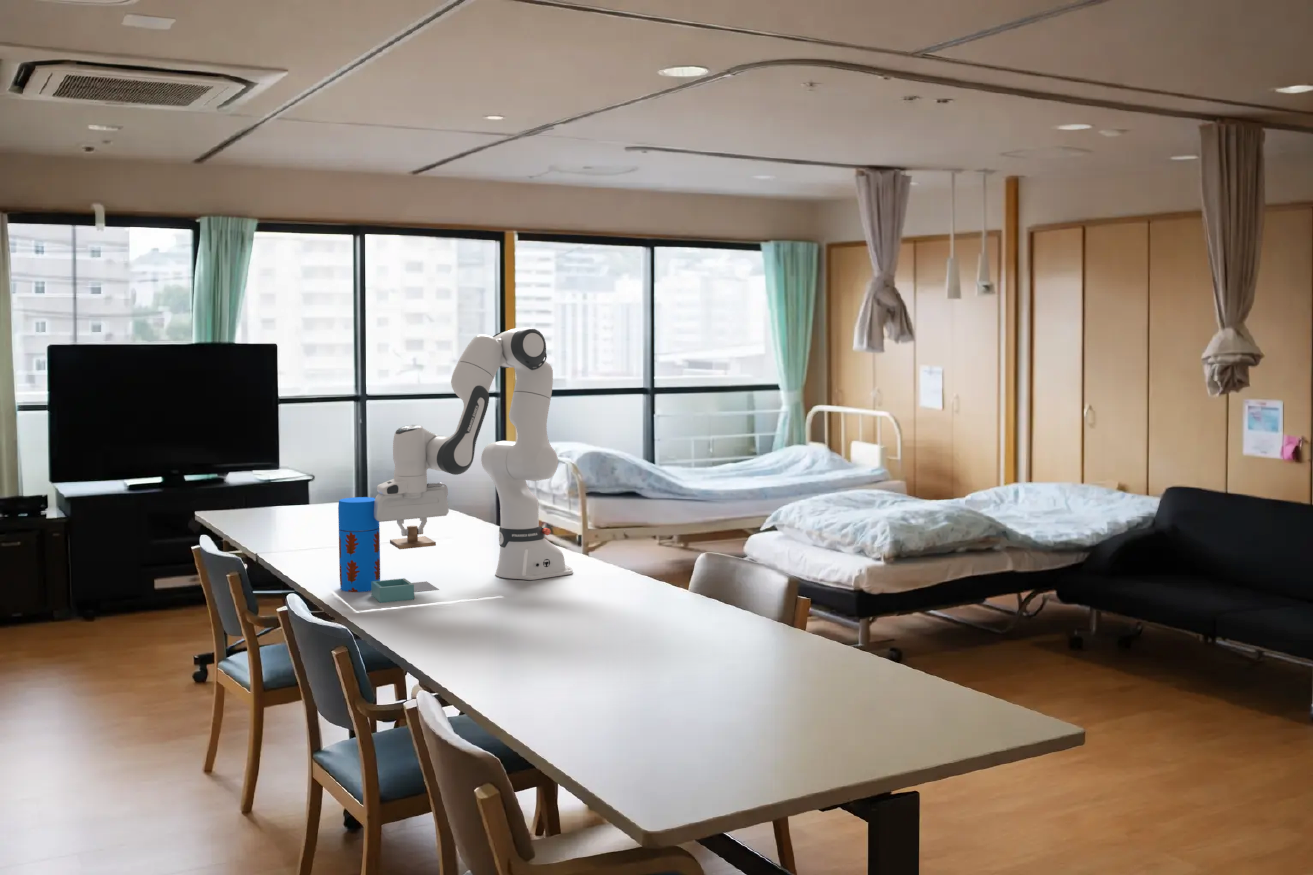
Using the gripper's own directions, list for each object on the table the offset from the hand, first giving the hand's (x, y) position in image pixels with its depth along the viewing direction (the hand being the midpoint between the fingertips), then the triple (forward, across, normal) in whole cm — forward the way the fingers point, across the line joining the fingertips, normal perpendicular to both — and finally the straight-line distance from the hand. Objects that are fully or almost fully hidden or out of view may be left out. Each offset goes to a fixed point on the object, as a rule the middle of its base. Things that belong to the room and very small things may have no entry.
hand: (412, 534), depth 328 cm
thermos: (+15, +13, -6) cm, 21 cm away
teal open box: (+15, +9, +10) cm, 20 cm away
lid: (+3, 0, 0) cm, 3 cm away
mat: (+15, +1, 0) cm, 15 cm away
